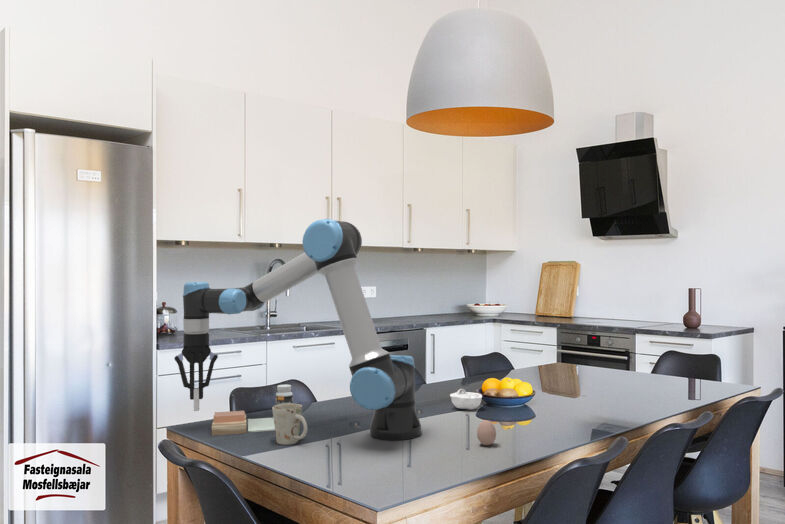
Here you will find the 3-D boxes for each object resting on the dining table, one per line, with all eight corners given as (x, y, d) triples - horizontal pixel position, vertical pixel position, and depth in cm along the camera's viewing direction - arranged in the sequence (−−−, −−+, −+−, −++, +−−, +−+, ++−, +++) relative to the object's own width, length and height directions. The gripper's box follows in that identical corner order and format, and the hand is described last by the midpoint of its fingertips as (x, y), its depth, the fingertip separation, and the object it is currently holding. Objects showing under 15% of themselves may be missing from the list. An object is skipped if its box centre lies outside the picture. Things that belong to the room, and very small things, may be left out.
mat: (288, 429, 201) (288, 428, 201) (248, 432, 198) (248, 431, 198) (285, 418, 217) (285, 416, 217) (247, 420, 214) (247, 419, 214)
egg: (473, 445, 180) (472, 420, 180) (485, 441, 184) (484, 417, 184) (488, 449, 177) (488, 423, 177) (500, 445, 180) (499, 420, 180)
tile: (244, 416, 208) (244, 410, 208) (244, 421, 202) (244, 414, 202) (214, 418, 206) (214, 412, 206) (214, 423, 200) (214, 416, 200)
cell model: (469, 414, 219) (468, 393, 219) (443, 408, 228) (443, 389, 228) (489, 409, 225) (489, 389, 225) (464, 404, 234) (464, 385, 234)
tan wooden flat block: (246, 433, 197) (246, 424, 197) (211, 435, 195) (211, 427, 195) (246, 421, 213) (246, 413, 213) (213, 423, 211) (213, 415, 211)
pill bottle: (276, 418, 217) (276, 387, 217) (275, 414, 223) (274, 384, 223) (294, 416, 219) (293, 386, 219) (292, 413, 224) (291, 383, 224)
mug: (288, 436, 193) (288, 402, 193) (319, 443, 185) (318, 407, 185) (266, 442, 186) (266, 407, 186) (297, 450, 178) (296, 412, 178)
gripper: (218, 330, 207) (219, 406, 207) (175, 331, 204) (175, 408, 204) (218, 333, 200) (218, 411, 200) (172, 334, 197) (172, 413, 197)
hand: (196, 409), depth 202 cm, fingers closed
